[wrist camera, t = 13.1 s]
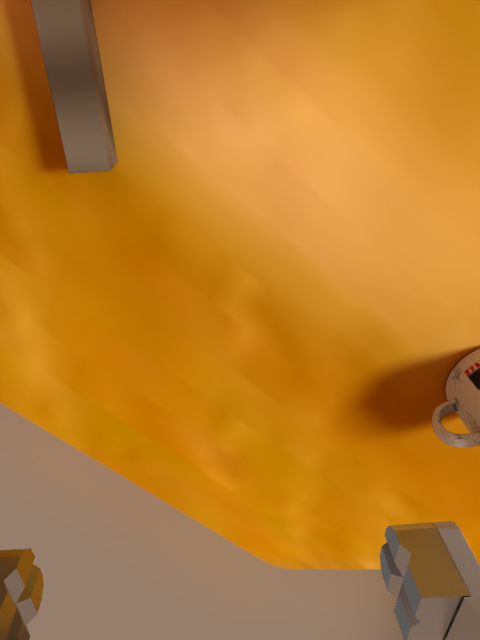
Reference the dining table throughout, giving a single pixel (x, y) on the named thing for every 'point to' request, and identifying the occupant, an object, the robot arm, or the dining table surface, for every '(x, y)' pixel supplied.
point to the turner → (76, 83)
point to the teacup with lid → (461, 402)
